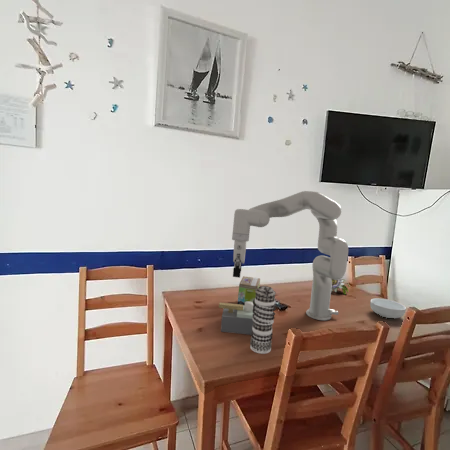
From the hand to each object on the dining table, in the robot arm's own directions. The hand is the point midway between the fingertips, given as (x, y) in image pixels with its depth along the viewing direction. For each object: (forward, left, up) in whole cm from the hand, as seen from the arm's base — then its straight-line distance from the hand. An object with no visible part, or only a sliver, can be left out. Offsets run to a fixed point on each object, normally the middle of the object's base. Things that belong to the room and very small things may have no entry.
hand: (237, 274), depth 136 cm
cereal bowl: (-82, -30, -25) cm, 90 cm away
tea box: (-7, -23, -25) cm, 34 cm away
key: (+1, +2, -17) cm, 18 cm away
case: (-4, +2, -24) cm, 25 cm away
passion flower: (-65, -64, -25) cm, 94 cm away
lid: (-7, +2, -17) cm, 19 cm away
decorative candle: (-12, +18, -25) cm, 33 cm away
